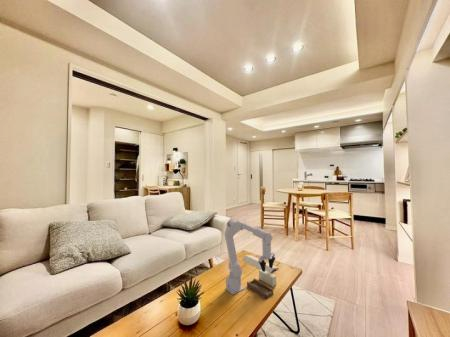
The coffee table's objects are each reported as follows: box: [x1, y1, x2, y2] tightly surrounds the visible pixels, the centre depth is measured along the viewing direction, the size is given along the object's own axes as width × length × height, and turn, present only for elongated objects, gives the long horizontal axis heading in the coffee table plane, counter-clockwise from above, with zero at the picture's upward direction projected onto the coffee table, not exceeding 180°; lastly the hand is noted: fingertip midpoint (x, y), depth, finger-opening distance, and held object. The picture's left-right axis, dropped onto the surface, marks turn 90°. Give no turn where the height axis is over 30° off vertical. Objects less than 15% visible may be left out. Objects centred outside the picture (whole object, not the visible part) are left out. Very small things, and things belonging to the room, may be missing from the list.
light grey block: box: [258, 269, 277, 288], centre depth 129 cm, size 4×12×6 cm, turn 37°
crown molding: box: [241, 254, 280, 274], centre depth 154 cm, size 29×12×4 cm, turn 39°
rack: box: [246, 278, 274, 300], centre depth 120 cm, size 7×16×3 cm, turn 37°
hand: (267, 269), depth 130 cm, fingers open, 7 cm apart
